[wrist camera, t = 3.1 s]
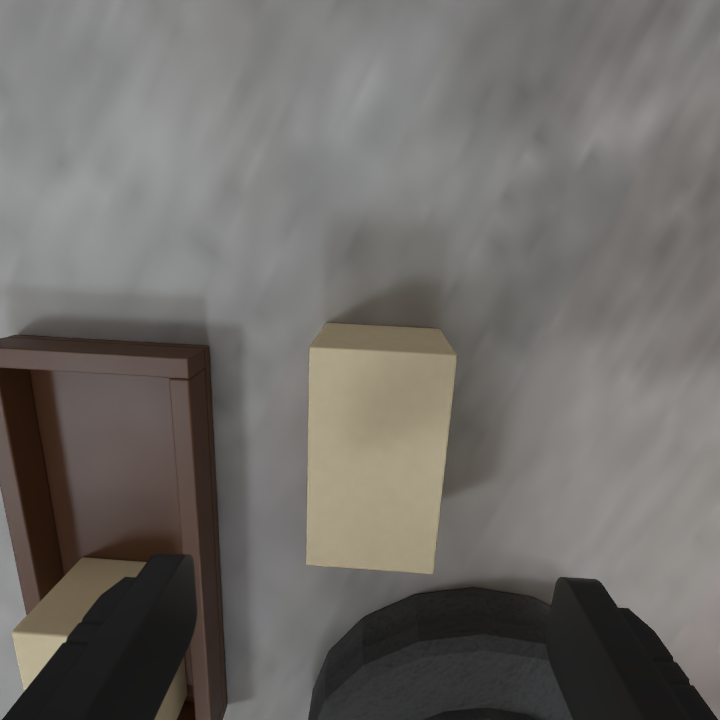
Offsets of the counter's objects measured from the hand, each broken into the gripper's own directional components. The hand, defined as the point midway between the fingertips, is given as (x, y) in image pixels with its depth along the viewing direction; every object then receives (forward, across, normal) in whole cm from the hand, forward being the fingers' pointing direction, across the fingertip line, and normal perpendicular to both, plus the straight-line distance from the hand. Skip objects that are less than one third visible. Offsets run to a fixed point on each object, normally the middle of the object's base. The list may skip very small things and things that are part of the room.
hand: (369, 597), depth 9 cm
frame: (+9, +11, +6) cm, 16 cm away
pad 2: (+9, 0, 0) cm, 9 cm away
